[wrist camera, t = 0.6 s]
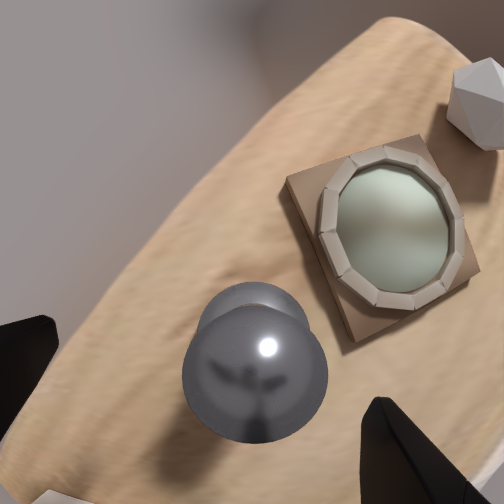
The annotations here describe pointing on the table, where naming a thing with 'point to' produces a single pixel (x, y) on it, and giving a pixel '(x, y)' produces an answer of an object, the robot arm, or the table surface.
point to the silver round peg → (254, 365)
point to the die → (479, 103)
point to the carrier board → (384, 232)
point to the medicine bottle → (58, 499)
